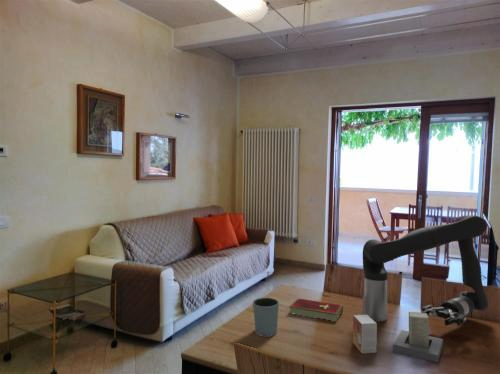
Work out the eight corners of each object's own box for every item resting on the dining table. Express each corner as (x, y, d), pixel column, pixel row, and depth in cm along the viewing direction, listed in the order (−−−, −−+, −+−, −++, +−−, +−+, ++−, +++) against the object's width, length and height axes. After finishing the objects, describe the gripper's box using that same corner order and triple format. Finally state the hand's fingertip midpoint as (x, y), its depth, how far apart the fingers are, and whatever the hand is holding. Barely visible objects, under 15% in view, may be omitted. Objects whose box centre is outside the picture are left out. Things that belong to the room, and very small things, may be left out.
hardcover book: (297, 306, 171) (297, 297, 171) (342, 313, 162) (342, 304, 162) (289, 315, 160) (289, 305, 160) (336, 323, 151) (336, 313, 151)
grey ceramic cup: (282, 329, 144) (282, 299, 144) (273, 339, 135) (273, 308, 135) (259, 325, 149) (259, 296, 148) (248, 334, 139) (248, 304, 139)
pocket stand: (392, 351, 126) (393, 344, 126) (401, 336, 138) (401, 329, 138) (438, 362, 118) (438, 355, 118) (442, 345, 130) (442, 339, 130)
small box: (352, 343, 132) (352, 314, 132) (367, 342, 133) (367, 314, 132) (361, 353, 124) (361, 323, 124) (376, 353, 125) (377, 323, 125)
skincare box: (427, 346, 129) (427, 313, 129) (429, 352, 125) (429, 317, 125) (408, 344, 131) (408, 311, 131) (409, 349, 127) (409, 315, 127)
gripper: (436, 295, 149) (415, 303, 140) (474, 305, 138) (454, 314, 128) (436, 313, 150) (415, 322, 140) (474, 324, 138) (453, 335, 129)
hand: (433, 319), depth 134 cm, fingers open, 8 cm apart
